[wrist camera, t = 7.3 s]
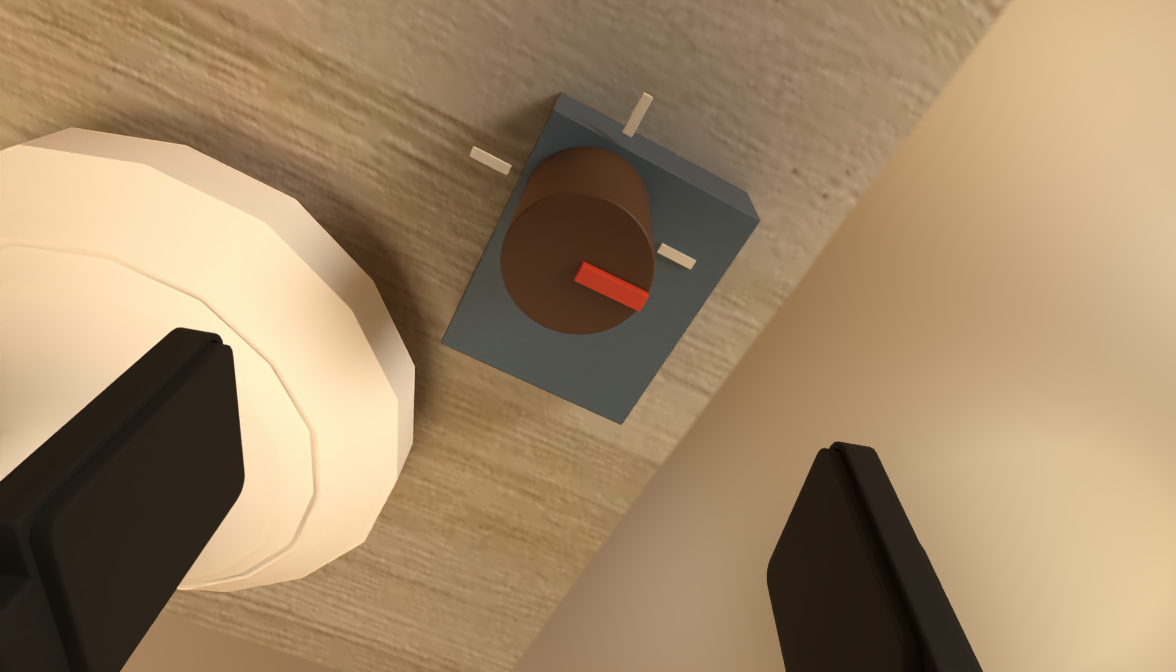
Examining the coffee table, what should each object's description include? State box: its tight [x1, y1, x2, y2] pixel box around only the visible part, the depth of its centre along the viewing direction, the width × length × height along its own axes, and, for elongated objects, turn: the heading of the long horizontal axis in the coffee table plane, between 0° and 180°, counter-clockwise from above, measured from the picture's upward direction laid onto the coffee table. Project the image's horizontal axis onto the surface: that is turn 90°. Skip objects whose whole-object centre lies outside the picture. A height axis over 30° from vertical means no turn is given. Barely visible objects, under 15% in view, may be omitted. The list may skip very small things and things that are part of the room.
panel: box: [441, 92, 760, 425], centre depth 26 cm, size 12×10×3 cm
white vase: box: [0, 127, 415, 592], centre depth 23 cm, size 20×20×19 cm
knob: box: [500, 146, 655, 335], centre depth 22 cm, size 4×4×5 cm
